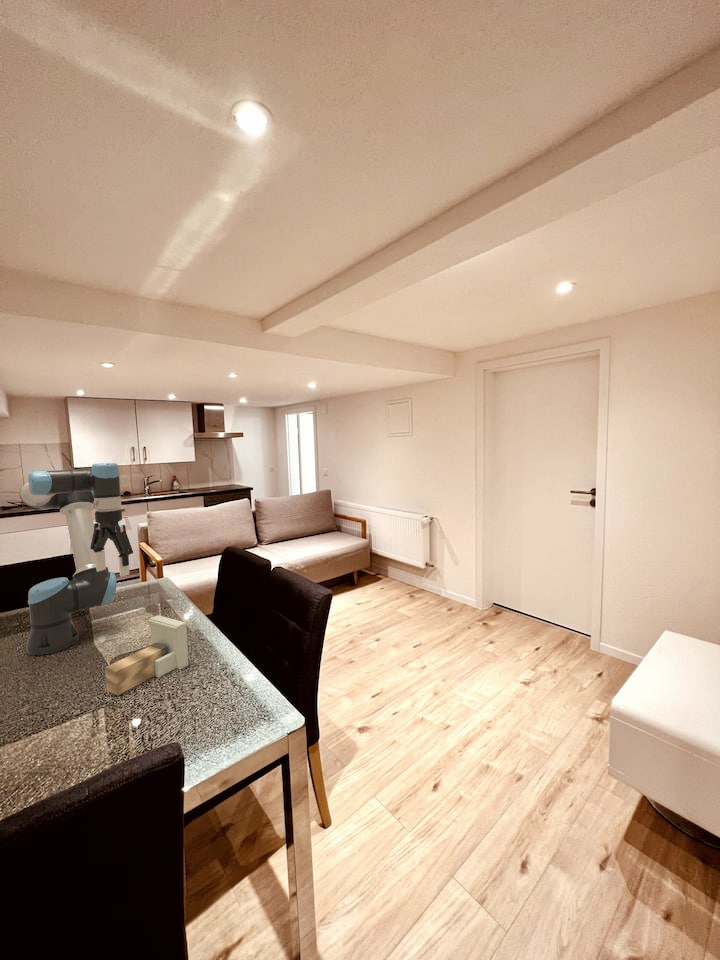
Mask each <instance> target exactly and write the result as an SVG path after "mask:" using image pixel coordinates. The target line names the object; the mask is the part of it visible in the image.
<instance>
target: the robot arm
mask: <svg viewBox="0 0 720 960" xmlns="http://www.w3.org/2000/svg"><path fill="white" fill-rule="evenodd" d="M120 474H121V473H120V468H119V465H118V463H115V462H105V463H104V462H101V463H96V462H95V463H93V464H92V465H91V468H84V469H83V468H82V469H81V468H80V469H79V468H78V469H65V470H63V469H62V470H36V471H31V472H29V474H28V478H27V482H26V483H25V484H24V485H22V486H21V488H20V490H19V493H18V494H19V498H20V501H22V503H24V504H25V505H27V506H29V507H32V508H36V509H41V510H44V509H45V510H46V509H47V510H49V509H59V513H60V514H61V515H62V516H63V515H64V516H65V518H66V524H67V530H68V535H69V539H70V544H71V550H72V554H73V560H74V564H75V569H76V570H75V573H73V575H72V579H71V580H69V579H68V577H63V576H62V577H55V578H51V579H47V580H45V581H44V580H43V581H42V582H40V583H37V584H35V585H34V586H32V587H31V588H30V589H29V591H28V592H27V594H28V595H27V598H28V600H27V604H28V607H29V608H28V609H29V619H30V620H29V621H30V622H29V623H30V631H29V634H28V637H27V641H26V643H25V644H26V645H25V653H26V654H27V655H29V656H34V655H37V656H45V655H46V656H47V655H51V654H55V653H58V652H61V651H64V650H66V649H68V648H71V647H73V646H74V645H75V644H77V643H78V641H79V640H80V637H79V636H80V635H79V632H78V629H77V628H76V626H75V624H74V622H73V621H72V613H76V612H80V611H83V610H86V609H87V610H88V609H90V608H91V609H92V608H95V607H98V606H100V607H101V606H103V605H106V604H109V603H112V601H113V600H114V599H115V597H116V593H117V576H116V573H115V572H114V571H109V567H108V566H106V552H105V546H106V544H107V541H108V539H109V540H110V541H112V542H113V544H114V546H115V549H116V550H117V552H118V554H119V555H118V564H119V565H118V567H119V577H122V578H123V577H125V576H129V575H130V555H132V554H133V553H134V551H133V548H132V545H131V542H130V539H129V537H128V533H127V530H126V529H127V528H126V525H125V524H121V525H120V524H119V522H121V521H122V520H123V511H122V498H121V497H122V496H121V482H120V481H121V479H120ZM94 509H95V512H94V519H95V520H94V519H93V514H92V510H94ZM94 521H95V523H94ZM44 654H45V655H44Z"/></svg>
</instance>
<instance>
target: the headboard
mask: <svg viewBox="0 0 720 960" xmlns="http://www.w3.org/2000/svg"><path fill="white" fill-rule="evenodd" d="M147 625H149V629H150V643H151V644H150V645H152V644H154V643H159V644H162V645H165V646H168V654H167V655H165V656H163V657H161V658H159V659H157V660H155V677H156V678H160V677H162V676H165V675H166V674H168V673H170V672H172V671H173V670H174V671H175V669H177V670H183V669H185V668H186V667H188V666H189V653H188V652H189V651H188V633H187V623H186V622H185V621H182V620H181V621H180V620H179V619H173V618H170V617H168V616H163V615H160V614H157V615H155V616H152V617H150V618H149V619H148V620H147Z"/></svg>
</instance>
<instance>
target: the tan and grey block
mask: <svg viewBox="0 0 720 960" xmlns="http://www.w3.org/2000/svg"><path fill="white" fill-rule="evenodd" d="M167 654H168V646H165V645H162V644H159V643H154V644H152V645H151V644H150V646H147V647H146V648H143V649H141V650H139V651H136V652H135V653H132V654H131V655H128V656H126V657H124V658H122V659H119V660H117V661H116V662H113V663H110V664H109V665H107V666H105V667H104V671H105V686H106V692H108V693H111V694H113V695H116V696H120V695H122V694H123V693H126V692H128V691H130V690H131V689H133V688H135V687H137V686H138V685H140V684H142V683H144V682H146V681H148V680H150V679H151V678H154V677H156V675H155V660H157V659H159V658H161V657H163V656H165V655H167Z"/></svg>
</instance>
